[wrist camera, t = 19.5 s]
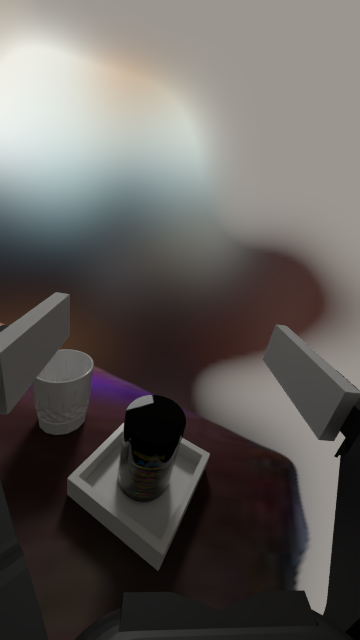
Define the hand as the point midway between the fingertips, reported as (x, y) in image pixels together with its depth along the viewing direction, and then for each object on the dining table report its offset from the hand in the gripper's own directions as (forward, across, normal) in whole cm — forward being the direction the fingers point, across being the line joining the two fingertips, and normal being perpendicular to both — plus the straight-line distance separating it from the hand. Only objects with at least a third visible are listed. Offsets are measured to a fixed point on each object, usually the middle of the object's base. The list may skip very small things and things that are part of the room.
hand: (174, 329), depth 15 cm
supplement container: (+7, 0, -24) cm, 25 cm away
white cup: (+16, -13, -25) cm, 32 cm away
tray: (+7, 0, -25) cm, 26 cm away
